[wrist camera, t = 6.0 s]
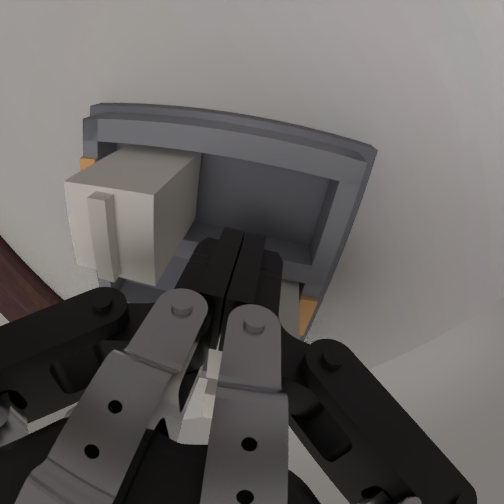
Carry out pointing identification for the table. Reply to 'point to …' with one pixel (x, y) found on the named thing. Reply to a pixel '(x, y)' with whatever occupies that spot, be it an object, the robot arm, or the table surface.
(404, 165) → the table surface
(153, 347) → the robot arm
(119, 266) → the white ridged block
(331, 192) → the switch bank
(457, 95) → the table surface
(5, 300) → the notebook
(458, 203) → the table surface
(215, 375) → the white rectangular block
